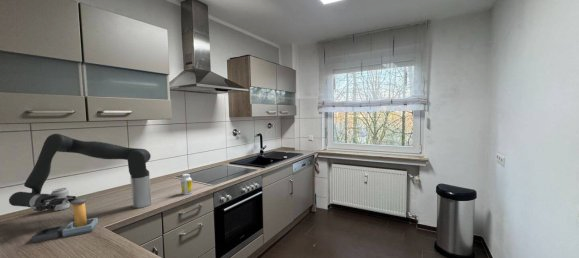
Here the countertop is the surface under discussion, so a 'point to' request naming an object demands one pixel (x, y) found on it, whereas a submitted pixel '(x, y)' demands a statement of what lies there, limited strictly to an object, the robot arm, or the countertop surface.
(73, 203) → the stop pin
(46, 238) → the pin collar
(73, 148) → the robot arm
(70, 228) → the parts tray
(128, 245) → the countertop surface
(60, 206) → the can
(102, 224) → the countertop surface
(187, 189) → the supplement bottle
